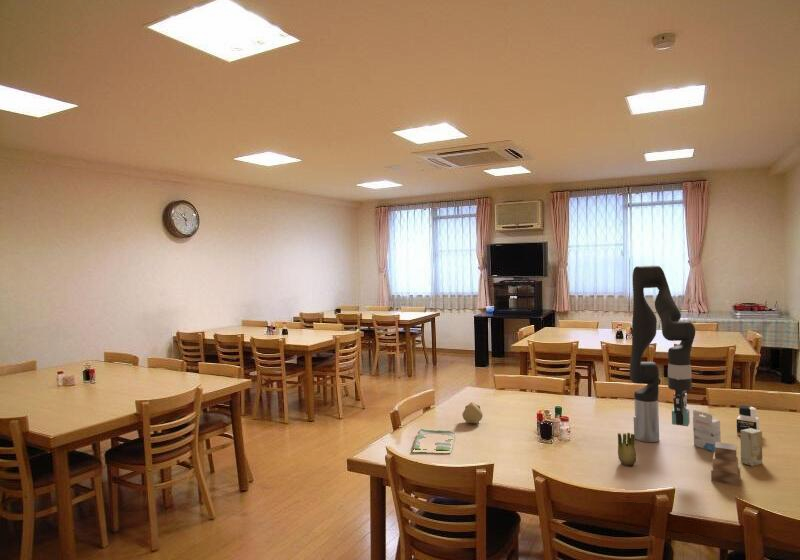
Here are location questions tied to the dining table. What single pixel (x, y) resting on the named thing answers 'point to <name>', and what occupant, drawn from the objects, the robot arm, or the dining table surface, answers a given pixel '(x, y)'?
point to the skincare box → (751, 446)
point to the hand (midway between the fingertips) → (680, 422)
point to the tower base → (725, 477)
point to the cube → (685, 417)
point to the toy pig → (472, 413)
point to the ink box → (705, 430)
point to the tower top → (725, 451)
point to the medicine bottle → (747, 419)
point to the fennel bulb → (626, 449)
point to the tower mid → (725, 465)
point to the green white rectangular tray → (439, 445)
